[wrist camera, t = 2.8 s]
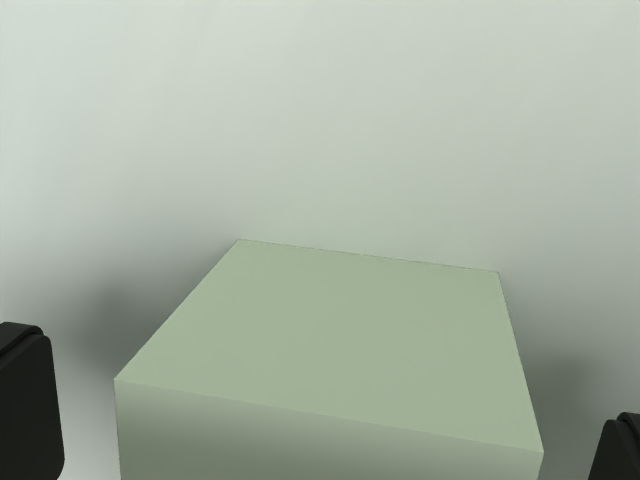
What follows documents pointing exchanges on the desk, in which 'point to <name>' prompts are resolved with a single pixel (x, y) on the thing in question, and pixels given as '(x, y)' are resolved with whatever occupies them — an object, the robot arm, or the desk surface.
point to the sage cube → (330, 375)
